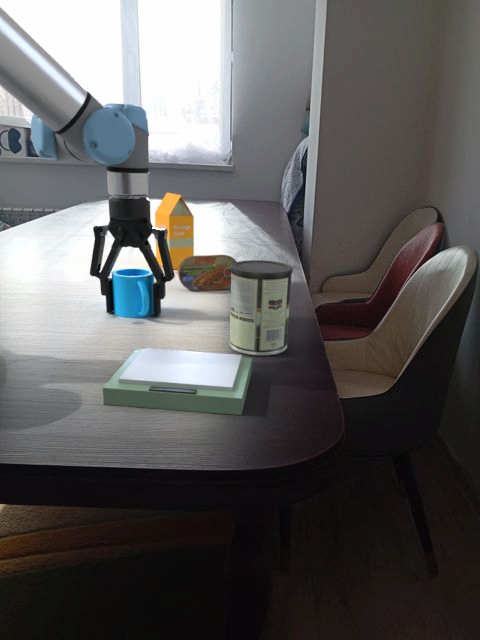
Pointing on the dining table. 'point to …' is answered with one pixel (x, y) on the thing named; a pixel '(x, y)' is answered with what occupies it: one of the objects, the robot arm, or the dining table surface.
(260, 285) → the coffee can
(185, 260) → the tin
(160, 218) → the orange juice
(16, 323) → the dining table surface
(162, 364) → the scale
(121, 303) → the mug
